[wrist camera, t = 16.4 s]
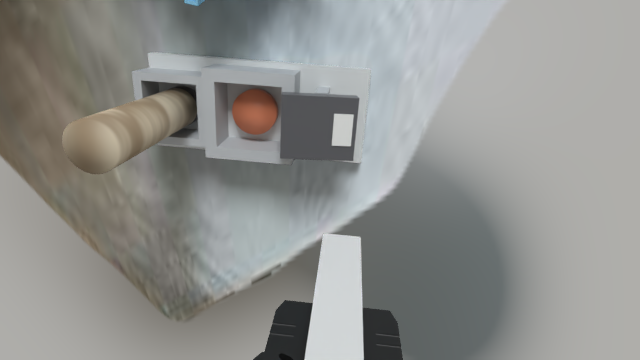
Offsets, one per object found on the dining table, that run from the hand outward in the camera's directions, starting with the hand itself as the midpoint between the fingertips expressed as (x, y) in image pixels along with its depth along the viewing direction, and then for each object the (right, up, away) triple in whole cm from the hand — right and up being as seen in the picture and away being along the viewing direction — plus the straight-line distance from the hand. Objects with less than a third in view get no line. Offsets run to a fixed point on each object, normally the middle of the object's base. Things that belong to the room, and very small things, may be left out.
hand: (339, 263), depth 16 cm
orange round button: (-7, +11, +25) cm, 28 cm away
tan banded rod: (-15, +12, +26) cm, 32 cm away
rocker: (-1, +8, +20) cm, 22 cm away
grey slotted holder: (-7, +12, +27) cm, 30 cm away
